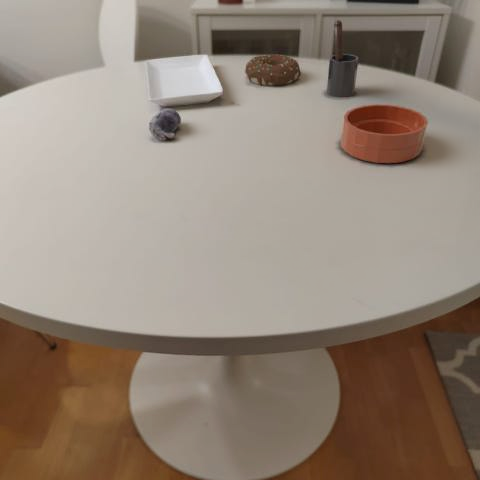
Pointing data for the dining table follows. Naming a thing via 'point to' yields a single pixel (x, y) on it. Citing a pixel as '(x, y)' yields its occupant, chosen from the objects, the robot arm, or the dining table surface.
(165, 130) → the grey plush toy
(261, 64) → the donut
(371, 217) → the dining table surface
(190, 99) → the tray
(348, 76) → the holder
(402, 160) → the bowl
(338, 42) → the stick
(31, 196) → the dining table surface
